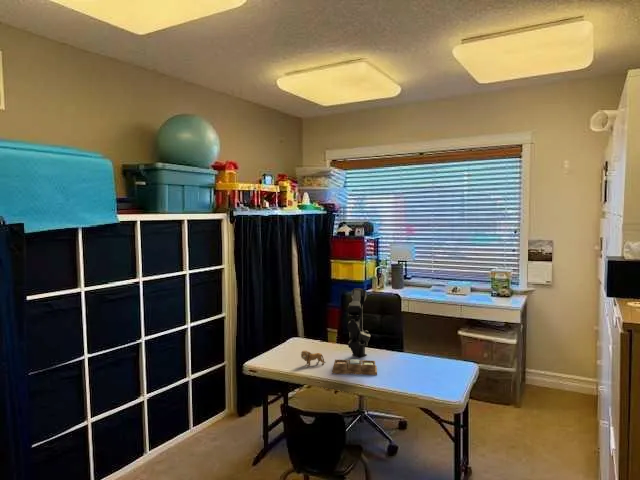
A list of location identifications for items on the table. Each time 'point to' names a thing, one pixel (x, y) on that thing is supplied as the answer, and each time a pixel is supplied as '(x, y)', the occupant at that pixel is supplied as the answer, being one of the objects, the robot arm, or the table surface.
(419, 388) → the table surface
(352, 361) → the button
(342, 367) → the button board
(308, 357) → the lion figurine
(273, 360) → the table surface
